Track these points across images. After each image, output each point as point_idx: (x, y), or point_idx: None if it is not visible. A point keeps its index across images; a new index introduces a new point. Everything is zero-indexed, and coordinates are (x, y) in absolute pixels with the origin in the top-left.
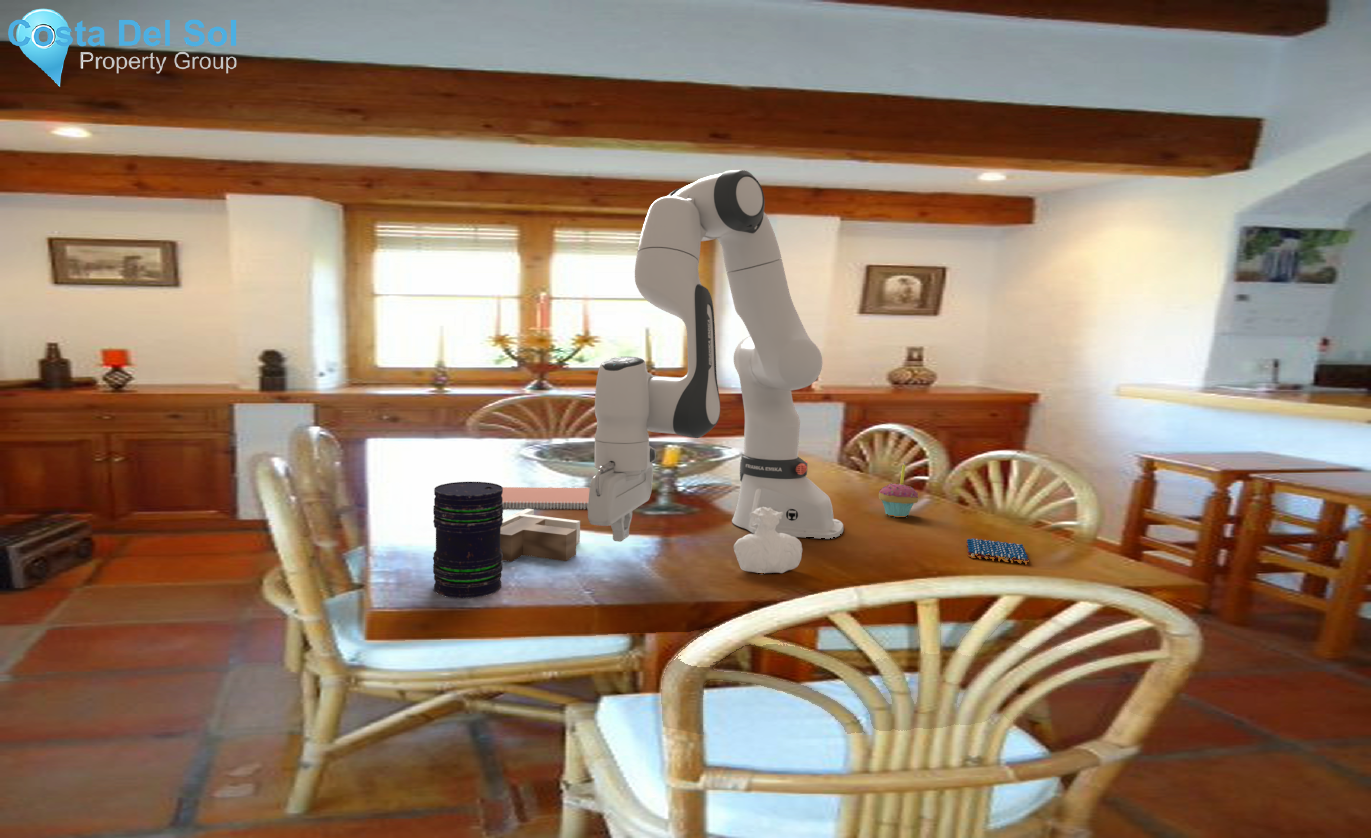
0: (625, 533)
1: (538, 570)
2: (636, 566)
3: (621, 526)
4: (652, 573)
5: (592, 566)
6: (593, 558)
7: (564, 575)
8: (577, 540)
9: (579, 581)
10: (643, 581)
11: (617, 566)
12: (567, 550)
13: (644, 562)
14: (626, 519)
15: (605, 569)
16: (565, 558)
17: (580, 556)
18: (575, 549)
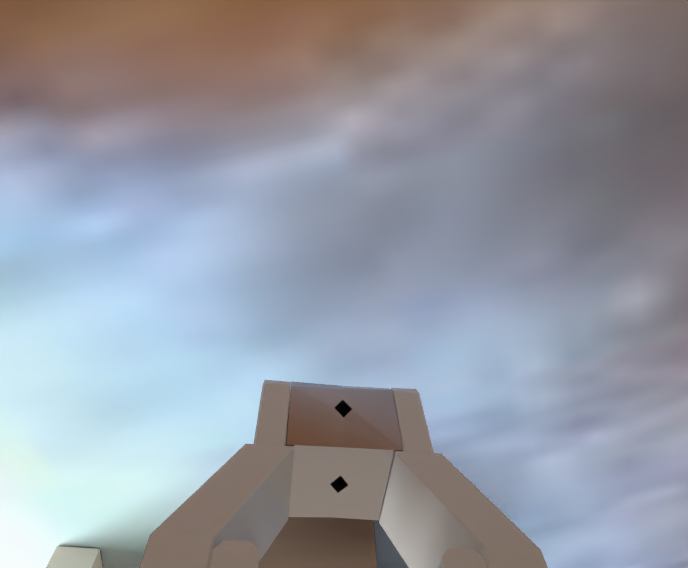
0: (355, 418)
1: None
2: (355, 196)
3: (489, 508)
4: (490, 45)
5: None
6: None
7: (586, 469)
8: (77, 563)
9: (676, 398)
10: (683, 69)
11: (388, 301)
12: (362, 561)
13: (246, 166)
14: (239, 536)
15: (460, 343)
16: (373, 529)
17: None
18: None
